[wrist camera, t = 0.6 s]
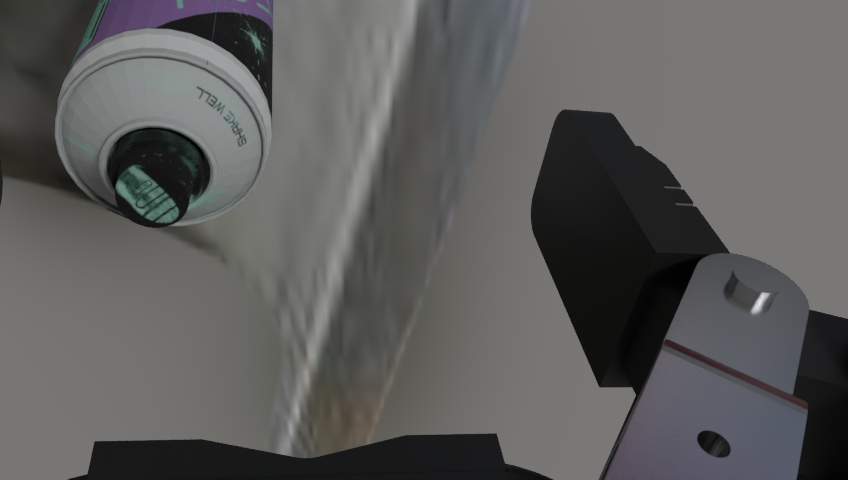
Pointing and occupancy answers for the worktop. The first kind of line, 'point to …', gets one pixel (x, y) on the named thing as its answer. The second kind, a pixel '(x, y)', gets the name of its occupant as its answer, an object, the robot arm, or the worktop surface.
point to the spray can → (169, 108)
